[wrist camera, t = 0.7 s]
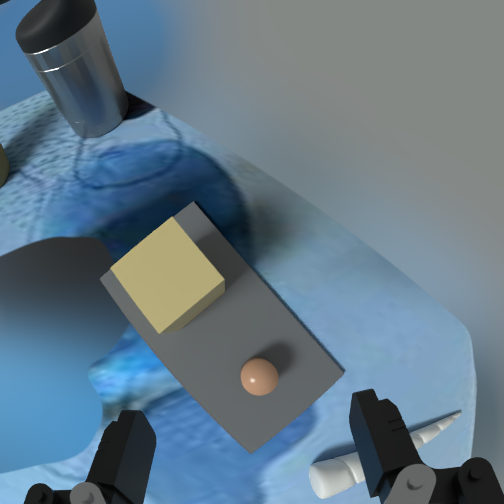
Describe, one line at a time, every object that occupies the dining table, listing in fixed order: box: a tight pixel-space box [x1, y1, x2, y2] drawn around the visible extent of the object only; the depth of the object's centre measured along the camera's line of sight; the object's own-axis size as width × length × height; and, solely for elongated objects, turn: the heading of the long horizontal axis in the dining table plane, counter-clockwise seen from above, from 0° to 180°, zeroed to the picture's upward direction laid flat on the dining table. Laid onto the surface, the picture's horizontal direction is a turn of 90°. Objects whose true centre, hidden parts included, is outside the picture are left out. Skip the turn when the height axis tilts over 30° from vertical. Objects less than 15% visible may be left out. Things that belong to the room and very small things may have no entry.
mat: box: [100, 202, 344, 454], centre depth 31 cm, size 26×14×1 cm, turn 41°
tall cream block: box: [111, 217, 225, 334], centre depth 27 cm, size 6×6×10 cm
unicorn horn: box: [309, 412, 462, 499], centre depth 28 cm, size 5×24×5 cm, turn 96°
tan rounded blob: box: [240, 357, 278, 396], centre depth 29 cm, size 4×4×3 cm
